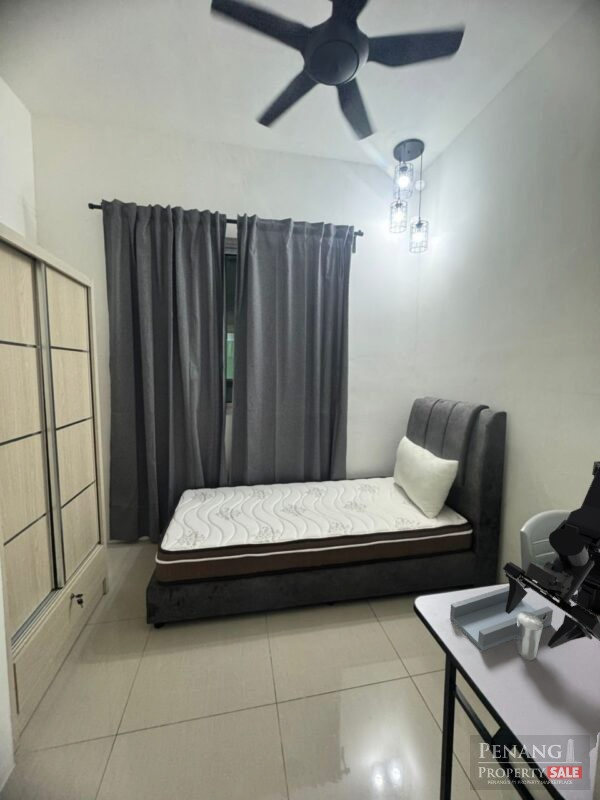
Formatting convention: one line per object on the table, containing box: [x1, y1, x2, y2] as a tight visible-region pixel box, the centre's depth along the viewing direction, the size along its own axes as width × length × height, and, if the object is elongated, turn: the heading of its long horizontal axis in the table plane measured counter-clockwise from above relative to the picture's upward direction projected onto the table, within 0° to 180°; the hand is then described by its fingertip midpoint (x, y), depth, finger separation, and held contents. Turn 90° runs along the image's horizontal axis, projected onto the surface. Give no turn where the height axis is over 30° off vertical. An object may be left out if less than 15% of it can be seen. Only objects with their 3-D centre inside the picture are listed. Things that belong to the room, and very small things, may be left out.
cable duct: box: [449, 586, 554, 652], centre depth 78 cm, size 22×9×4 cm, turn 109°
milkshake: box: [517, 611, 547, 661], centre depth 69 cm, size 4×5×10 cm
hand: (526, 628), depth 69 cm, fingers open, 9 cm apart
